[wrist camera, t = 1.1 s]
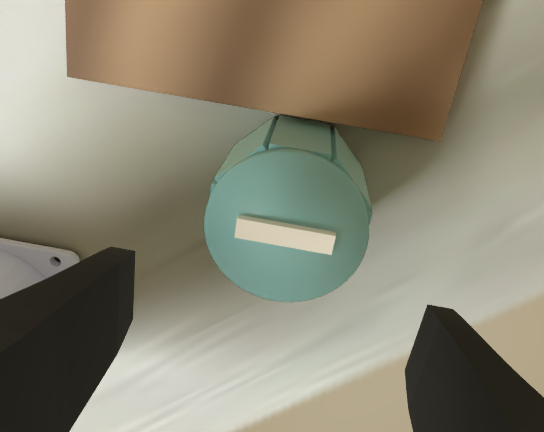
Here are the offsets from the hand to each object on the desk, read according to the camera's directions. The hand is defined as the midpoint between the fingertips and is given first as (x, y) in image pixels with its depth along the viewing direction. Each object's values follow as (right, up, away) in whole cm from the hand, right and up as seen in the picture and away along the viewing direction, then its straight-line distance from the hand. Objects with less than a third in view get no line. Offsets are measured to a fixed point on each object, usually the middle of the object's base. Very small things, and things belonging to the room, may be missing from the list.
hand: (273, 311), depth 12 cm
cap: (+1, +4, +8) cm, 9 cm away
